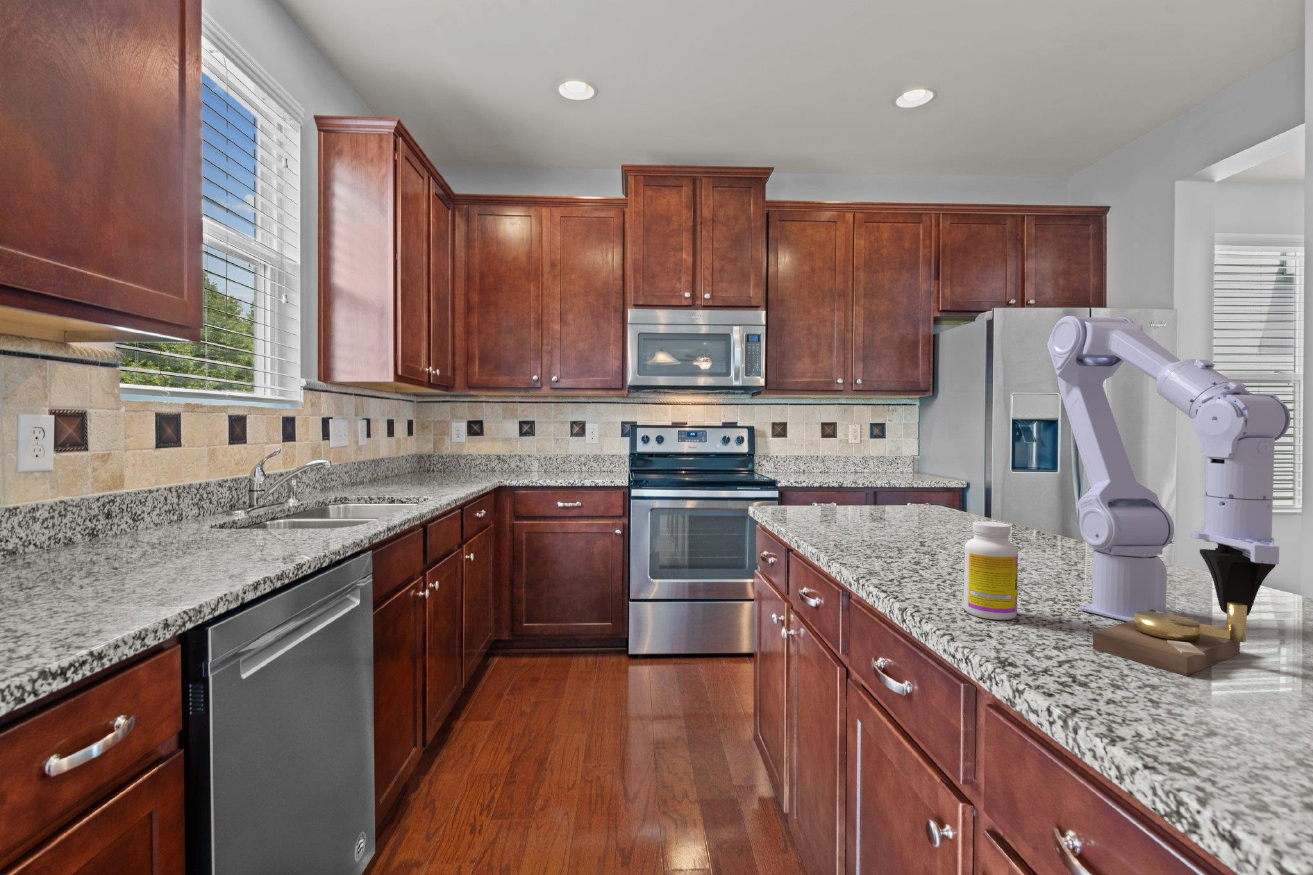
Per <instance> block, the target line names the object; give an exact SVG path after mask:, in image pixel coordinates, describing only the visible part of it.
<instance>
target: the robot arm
mask: <svg viewBox="0 0 1313 875" xmlns="http://www.w3.org/2000/svg"><path fill="white" fill-rule="evenodd" d="M1143 328H1144V327H1143V325H1142V324H1140V323H1136V322H1134V321H1133V320H1132V319H1131V318H1129V317H1126V316H1118V317H1087V316H1084V317H1083V316H1075V315H1066V316H1063V317H1062V318H1060V319H1059V320H1058V321H1057V322H1056V324H1055V325H1054V326H1053V329H1052V330H1051V333H1050V336H1049V338H1048V342H1047V343H1046V346H1047V350H1048V352H1049V355H1050V359H1051V361H1052V365H1053V368H1054V371H1055V375H1056V377H1057V386H1058V389H1059V393H1060V396H1061V399H1062V402H1063V406H1064V409H1065V411H1066V415H1067V418H1068V421H1069V425H1070V427H1071V430H1072V434H1073V437H1074V440H1075V443H1076V446H1077V449H1078V452H1079V453H1078V454H1079V455H1080V456H1079V457H1080V459H1081V463H1082V464H1083V465H1082V466H1083V468H1084V472H1085V474H1086V477H1087V481H1088V484H1089V487H1090V488H1089V490H1088V491H1087V492H1086V493H1085V494H1084V495H1083V496H1081V497H1080V498H1079V500H1078V501H1077V508H1078V510H1079V511H1078V512H1079V524H1078V525H1079V527H1078V528H1079V531H1080V534H1081V537H1082V539H1083V541H1084V542H1085V543H1086V544H1087V545H1088V549H1089V550H1093V552H1092V553H1093V555H1092V590H1091V592H1092V594H1091V595H1092V596H1091V603H1090V602H1089V603H1087V604H1083V605H1079V606H1078V610H1080V611H1083V612H1088V613H1091V614H1096V615H1099V616H1104V617H1106V618H1107V617H1108V618H1112V619H1116V620H1121V621H1124V622H1128V621H1131V620H1134V614H1135V613H1136V612H1143V611H1148V610H1149V609H1153V610H1155V611H1158V612H1162V613H1167V614H1173V615H1175V612H1174V611H1170V610H1167V588H1168V586H1167V584H1168V583H1167V582H1168V570H1167V567H1166V565H1165V563H1164V561H1163V560H1162V559H1161V558H1160V557H1159V555H1163V552H1164V550H1163V549H1164V548H1166V547H1167V546H1168V545H1170V544H1171V542H1172V541H1173V539H1174V536H1175V524H1174V523H1175V522H1174V521H1173V518H1172V517H1171V515H1170V513H1169V512H1168V511H1167V510H1166V509H1165V508H1164V507H1163V506H1162V504H1161V502H1160V501H1159V497H1158V494H1157V493H1155V492H1153V491H1152V490H1151V489H1149V488H1147V487H1146V486H1144V485H1143V484H1141V483H1140V482H1138V481H1137V480H1136V477H1135V474H1134V471H1133V468H1132V465H1131V463H1130V460H1129V457H1128V454H1127V451H1126V448H1125V445H1124V443H1123V441H1122V440H1123V439H1122V437H1121V434H1120V431H1119V428H1118V425H1117V422H1116V421H1115V417H1114V414H1113V412H1112V409H1111V406H1110V402H1109V400H1108V397H1107V394H1106V391H1105V389H1104V386H1103V385H1104V383H1105V381H1106V380H1108V379H1109V378H1111V377H1113V376H1114V375H1115V373H1116V372H1117V371H1118V369H1119V368H1121V366H1122V364H1123V363H1124V362H1125V363H1127V364H1128V365H1129V366H1132V367H1133V368H1135V369H1136V370H1138V371H1140V372H1142V373H1143V374H1145V375H1147V376H1148V377H1150V378H1152V379H1153V380H1154V381H1156V382H1155V383H1156V384H1155V385H1156V387H1155V389H1156V393H1157V394H1158V395H1159V396H1161V397H1162V398H1163V399H1165V400H1166V401H1167V402H1168V403H1170V404H1172V405H1173V406H1174V407H1175V408H1177V409H1178V410H1180V411H1181V413H1183V414H1184V415H1186V416H1187V417H1189V418H1191V421H1192V422H1191V423H1192V427H1193V430H1194V432H1195V434H1196V435H1197V437H1198V438H1199V439H1200V442H1201V452H1202V453H1203V456H1204V457H1205V485H1204V494H1205V495H1204V522H1203V523H1204V524H1203V525H1201V531H1197V530H1192V531H1190V537H1191V538H1194V539H1196V540H1201V541H1203V542H1208V543H1209V542H1210V543H1214V544H1216V545H1217V547H1215V548H1214V549H1210V548H1209V549H1207V548H1202V549H1201V548H1200V549H1199V554H1200V556H1201V557H1202V559H1203V560H1204V562H1205V564H1206V566H1207V568H1208V570H1209V572H1210V575H1211V578H1212V581H1213V585H1214V589H1215V593H1216V598H1217V601H1218V605H1219V608H1220V610H1221V612H1223V613H1225V614H1227V603H1228V602H1235V603H1241V604H1245V605H1247V617H1248V616H1249V615H1250V614H1251V611H1252V608H1253V605H1254V603H1255V600H1256V597H1257V594H1258V592H1259V591H1260V587H1261V586H1262V584H1263V582H1264V581H1265V579H1266V577H1267V576H1268V575H1269V574H1270V573H1271V571H1272V570H1274V568H1276V565H1279V564H1280V563H1279V562H1280V546H1278V545H1276V543H1275V538H1274V537H1273V535H1272V534H1273V508H1274V507H1273V506H1274V505H1273V502H1274V500H1273V499H1274V473H1275V472H1274V471H1275V470H1274V469H1275V467H1274V466H1275V445H1276V444H1275V443H1276V441H1278V440H1280V439H1281V438H1282V437H1283V436H1284V435H1285V434H1286V433H1287V431H1288V430H1289V428H1290V425H1291V419H1292V418H1291V412H1290V410H1289V408H1288V406H1287V405H1286V403H1284V402H1283V401H1282V400H1281V399H1280V398H1279V397H1278V396H1277V395H1276V394H1273V393H1265V392H1263V393H1260V392H1259V393H1253V392H1250V391H1249V390H1248V389H1246V388H1247V385H1246V384H1244V383H1243V382H1241V381H1233V380H1231V379H1230V378H1228V377H1227V376H1225V375H1223V374H1222V373H1220V372H1219V371H1218V370H1216V369H1214V367H1215V366H1216V365H1215V363H1213V362H1212V361H1210V360H1209V359H1195V358H1190V359H1189V358H1188V359H1183V360H1181V359H1179V358H1178V357H1177V356H1176V355H1174V354H1173V353H1172V352H1170V351H1169V350H1168V349H1167V348H1165V347H1164V346H1162V345H1161V344H1160V343H1158V342H1157V341H1155V340H1154V339H1153V338H1151V337H1150V336H1149V335H1148V334H1146V333H1145V332H1144V329H1143Z"/></svg>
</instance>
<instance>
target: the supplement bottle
mask: <svg viewBox="0 0 1313 875" xmlns="http://www.w3.org/2000/svg"><path fill="white" fill-rule="evenodd" d="M1011 531H1012V530H1011V525H1010V524H1008V523H1004V522H999V521H997V522H996V521H983V520H980V521H979V520H978V521H977V520H976V521H974V522H973V521H972V532H973V538H970V539H968V541H966V542H965V545H964V563H963V564H964V566H963V567H964V572H963V576H964V577H963V609H964V610H965V611H966V612H967V613H968V614H970V615H972V616H974V617H976V618H977V617H978V618H982V619H986V620H987V619H988V620H996V621H1009V620H1013V619H1014V618H1016V616H1017V614H1018V580H1019V579H1018V574H1019V564H1018V563H1019V550H1018V548H1017V546H1016V545H1015V543H1013V542H1010V540H1009V537H1010V534H1011Z"/></svg>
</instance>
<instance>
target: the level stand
mask: <svg viewBox="0 0 1313 875" xmlns="http://www.w3.org/2000/svg"><path fill="white" fill-rule="evenodd" d="M1148 612H1158V611H1155V610H1153V609H1149V610H1148ZM1160 613H1162V612H1160ZM1092 649H1093V650H1095V651H1096V650H1097V651H1100V652H1102V653H1106V654H1110V655H1113V656H1117V657H1120V658H1124V659H1126V660H1130V661H1134V662H1138V663H1141V664H1144V665H1148V666H1150V667H1155V668H1157V669H1161V670H1165V671H1168V672H1171V673H1175V674H1177V675H1181V676H1185V677H1188V676H1191V675H1193V674H1195V673H1197V672H1200V671H1202V670H1204V669H1207V668H1209V667H1211V666H1214V665H1216V664H1218V663H1221V662H1222V661H1225V660H1228V659H1230V658H1232V657H1235V656H1237V655H1239V654H1241V652H1240V650H1241V642H1236V641H1232V640H1229V639H1227V638H1221V637H1215V636H1210V635H1204V634H1200V639H1198V640H1194V641H1183V640H1173V639H1167V638H1162V637H1157V636H1153V635H1150V634H1146V633H1144V632H1141V631H1139V630H1137V629H1136V628H1134V620H1131V621H1128V622H1127V621H1124V622H1122V623H1119V624H1116V625H1112V626H1109V627H1105V628H1102V629H1098V630H1096V631H1093V632H1092Z"/></svg>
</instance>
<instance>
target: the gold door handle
mask: <svg viewBox="0 0 1313 875" xmlns="http://www.w3.org/2000/svg"><path fill="white" fill-rule="evenodd" d="M1247 619H1248V616H1247V605H1245V604H1241V603H1235V602H1228V603H1227V613H1226V627H1223V626H1218V625H1211V624H1204V623H1200V622H1198V621H1197V620H1194V619H1192V618H1188V617H1185V616H1181V615H1177V614H1174V615H1173V614H1167V613H1160V612H1148V611H1143V612H1136V613H1135V614H1134V628H1136V629H1137V630H1139V631H1141V632H1144V633H1146V634H1150V635H1153V636H1157V637H1162V638H1167V639H1173V640H1183V641H1194V640H1198V639H1200V634H1204V635H1210V636H1215V637H1221V638H1227V639H1229V640H1232V641H1236V642H1240V643H1246V642H1247V625H1248V624H1247V623H1248V621H1247Z"/></svg>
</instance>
